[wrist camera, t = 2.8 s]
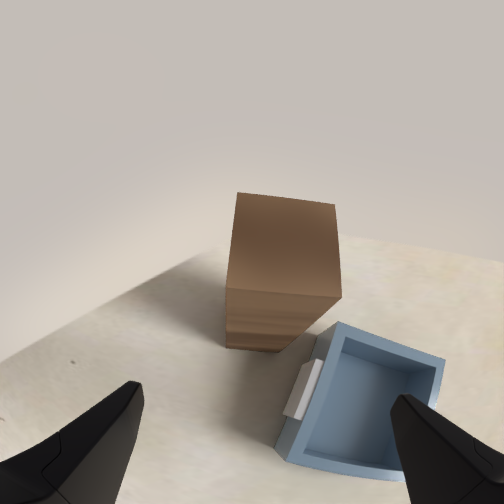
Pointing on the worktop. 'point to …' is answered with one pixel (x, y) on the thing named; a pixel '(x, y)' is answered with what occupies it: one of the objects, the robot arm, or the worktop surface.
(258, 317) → the upright wooden block
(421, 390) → the holder
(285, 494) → the worktop surface
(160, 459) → the worktop surface
